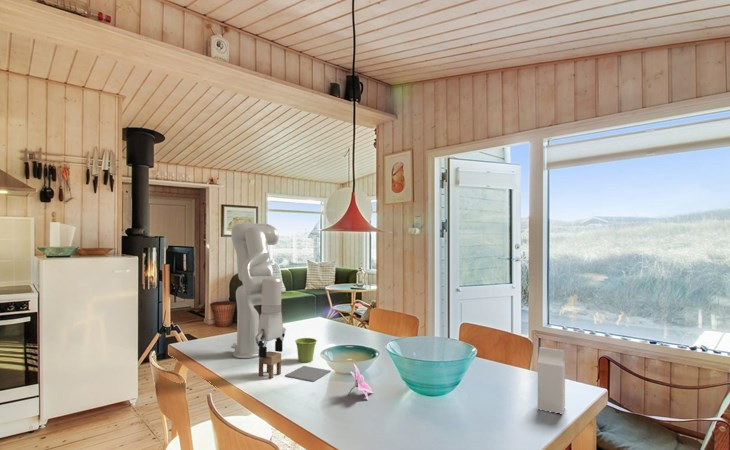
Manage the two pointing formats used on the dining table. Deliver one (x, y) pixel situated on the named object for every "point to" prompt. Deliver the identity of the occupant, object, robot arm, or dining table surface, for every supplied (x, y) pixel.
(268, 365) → the stool
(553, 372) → the milk carton
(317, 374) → the mat
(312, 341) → the plant pot
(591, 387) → the dining table surface
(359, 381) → the lily
